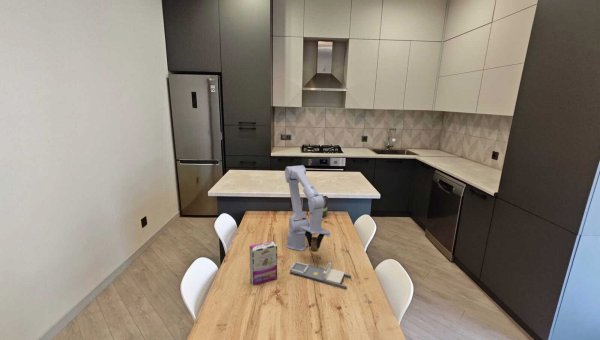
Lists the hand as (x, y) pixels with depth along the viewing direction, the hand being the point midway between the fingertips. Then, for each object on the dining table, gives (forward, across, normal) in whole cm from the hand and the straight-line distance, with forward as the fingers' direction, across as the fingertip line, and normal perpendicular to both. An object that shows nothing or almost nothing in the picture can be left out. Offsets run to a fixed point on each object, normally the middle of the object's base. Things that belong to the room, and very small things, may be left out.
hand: (314, 246), depth 136 cm
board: (+8, +6, -9) cm, 14 cm away
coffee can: (+9, -15, +56) cm, 58 cm away
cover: (+7, +13, -9) cm, 17 cm away
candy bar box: (+9, -16, -22) cm, 28 cm away
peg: (+2, 0, 0) cm, 2 cm away
